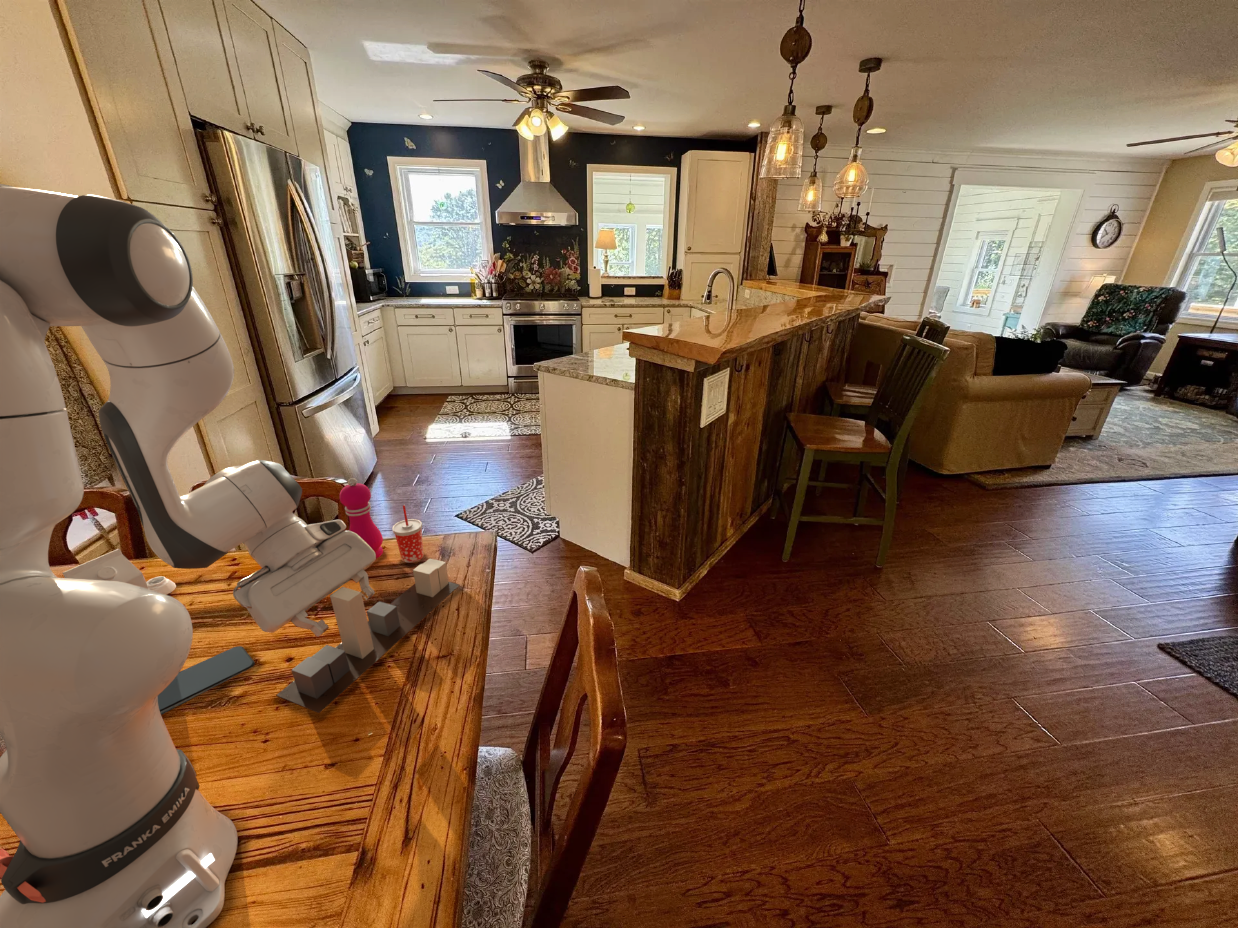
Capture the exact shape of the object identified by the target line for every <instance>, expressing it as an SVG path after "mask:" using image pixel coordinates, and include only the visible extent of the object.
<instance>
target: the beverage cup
mask: <svg viewBox="0 0 1238 928" xmlns="http://www.w3.org/2000/svg"><path fill="white" fill-rule="evenodd" d="M406 509H407V508H406V505H405V504H403V505H402V511H403V514H404V515H403V517H404V519H403V520H400V521H397V522H396V523H395V524H393V525H392V527H391V530H392V533H393V535H394V536H395V539H396V543H397V547H398V551H399V555H400V559H401V561H402V562H404V563H415V562H418V561H420V560H422V559H423V558H424V555H425V554H424V553H425V552H424V542H423V531H422V529H423V523H422V521H421V520H419V519H416V518H408V514H407V510H406Z"/></svg>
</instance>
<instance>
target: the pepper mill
mask: <svg viewBox="0 0 1238 928" xmlns="http://www.w3.org/2000/svg"><path fill="white" fill-rule="evenodd" d="M371 498H372V493H371V490H370V488H369V486H367V485H365V484H363V483H358V479H356V478H355V477H350V478H349V479H348V480H347V485H345V486H344V487H343V488H342V489H341V490H340V492H339V501H340V504H342V506H344V511H345V515H347V516H348V519H349V529H348V531H352V532H354V533H356V534H357V535H358V536H360V537H361V538H362V539H363V540H364V541H365V542H366V543H367V544H368V545H369V546H370V547H371V548H372V549H373V550H374V552H375V554H376V560H377V559H379V558H380V557H381V556H382V555H383V554H384V549H383V546H382V545H383V542H384V538H383V534H382V533H381V531H380V529H379V528H378V526H377V525H376V524H375V523H374V521H373V519H372V516H371V510H372V507H371V502H370V500H371Z"/></svg>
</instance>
